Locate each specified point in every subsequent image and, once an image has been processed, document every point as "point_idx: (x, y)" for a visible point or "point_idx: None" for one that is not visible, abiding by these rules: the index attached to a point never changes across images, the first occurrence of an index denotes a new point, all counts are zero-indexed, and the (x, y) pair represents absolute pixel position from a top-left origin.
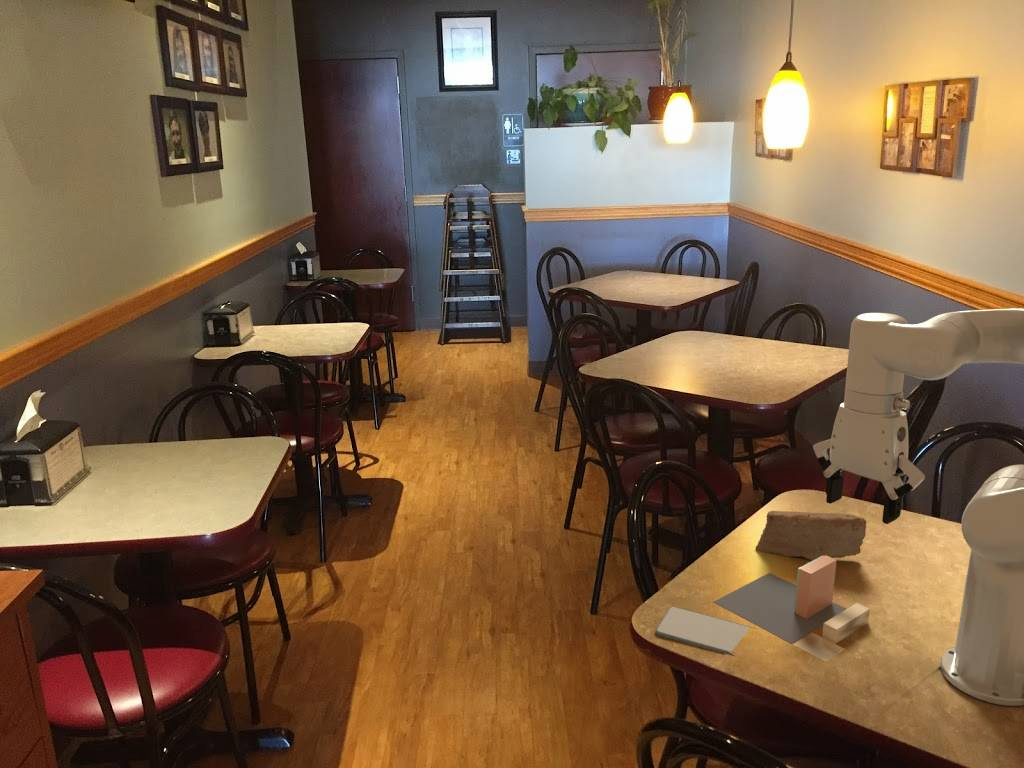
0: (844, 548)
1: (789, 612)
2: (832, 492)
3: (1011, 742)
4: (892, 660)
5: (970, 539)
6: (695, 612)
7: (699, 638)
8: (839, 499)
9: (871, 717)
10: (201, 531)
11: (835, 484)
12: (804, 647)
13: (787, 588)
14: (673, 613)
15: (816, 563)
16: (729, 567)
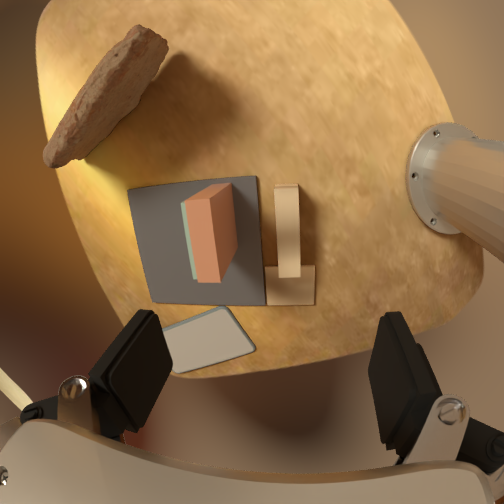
0: (151, 67)
1: None
2: (158, 391)
3: (481, 265)
4: (364, 234)
5: None
6: (163, 331)
7: (203, 360)
8: (159, 322)
9: None
10: None
11: (141, 401)
12: (279, 300)
13: (168, 203)
14: None
15: (198, 243)
16: (97, 220)
